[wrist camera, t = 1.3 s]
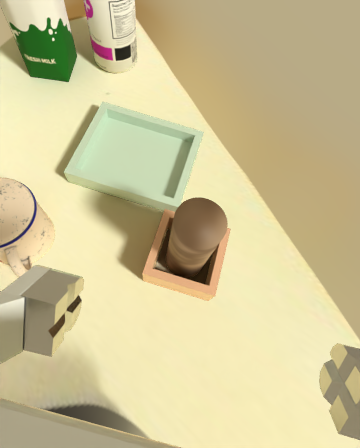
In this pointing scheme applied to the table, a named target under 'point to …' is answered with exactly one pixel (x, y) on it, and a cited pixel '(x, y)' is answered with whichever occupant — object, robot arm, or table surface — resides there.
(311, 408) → the table surface
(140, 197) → the sage tray
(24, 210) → the teacup with lid
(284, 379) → the table surface
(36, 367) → the table surface
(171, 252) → the walnut canister
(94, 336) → the table surface
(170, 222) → the terracotta holder
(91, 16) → the supplement can
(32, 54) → the milk carton
